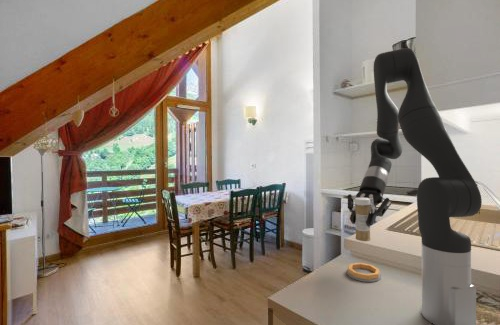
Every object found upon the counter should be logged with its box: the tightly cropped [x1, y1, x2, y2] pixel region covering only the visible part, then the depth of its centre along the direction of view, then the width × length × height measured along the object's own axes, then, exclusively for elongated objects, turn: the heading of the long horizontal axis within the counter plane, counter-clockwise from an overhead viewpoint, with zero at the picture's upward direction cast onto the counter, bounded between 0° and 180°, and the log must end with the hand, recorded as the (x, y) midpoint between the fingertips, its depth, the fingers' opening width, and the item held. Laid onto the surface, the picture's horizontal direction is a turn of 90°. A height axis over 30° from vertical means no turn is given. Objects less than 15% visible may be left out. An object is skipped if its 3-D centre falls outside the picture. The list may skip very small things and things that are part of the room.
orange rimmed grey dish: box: [346, 262, 382, 283], centre depth 85 cm, size 10×10×2 cm
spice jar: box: [354, 197, 371, 242], centre depth 85 cm, size 5×5×14 cm
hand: (360, 223), depth 83 cm, fingers closed on spice jar, 4 cm apart
